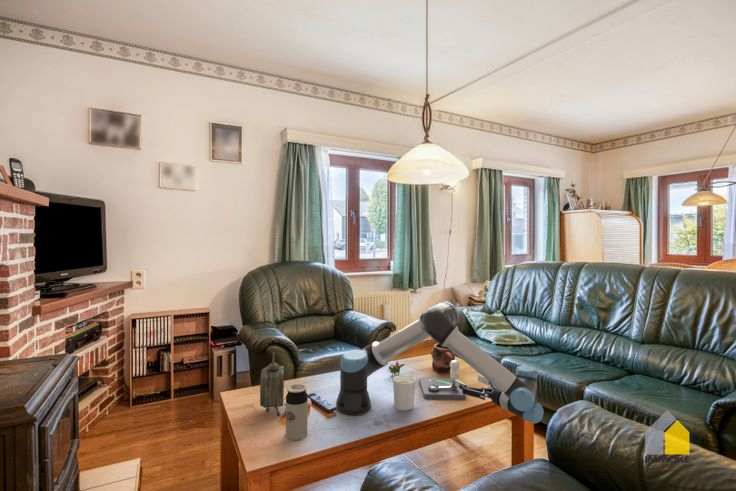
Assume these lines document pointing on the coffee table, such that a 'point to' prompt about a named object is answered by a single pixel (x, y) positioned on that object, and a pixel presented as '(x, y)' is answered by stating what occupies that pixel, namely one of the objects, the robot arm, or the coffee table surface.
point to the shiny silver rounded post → (453, 375)
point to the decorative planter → (441, 358)
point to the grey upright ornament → (272, 386)
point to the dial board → (442, 392)
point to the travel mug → (296, 411)
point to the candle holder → (404, 392)
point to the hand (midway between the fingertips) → (467, 380)
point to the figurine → (395, 368)
